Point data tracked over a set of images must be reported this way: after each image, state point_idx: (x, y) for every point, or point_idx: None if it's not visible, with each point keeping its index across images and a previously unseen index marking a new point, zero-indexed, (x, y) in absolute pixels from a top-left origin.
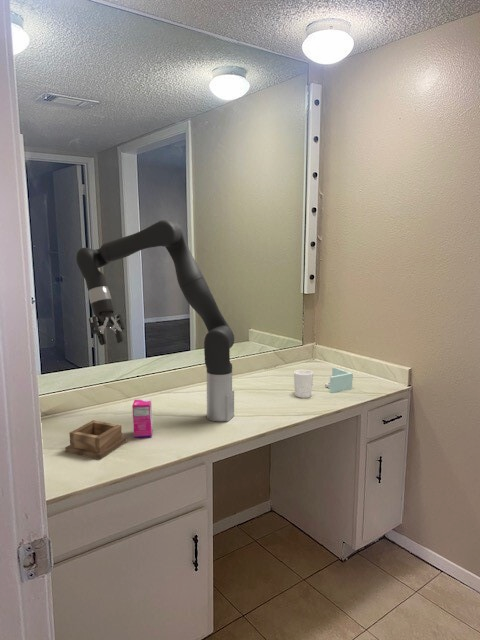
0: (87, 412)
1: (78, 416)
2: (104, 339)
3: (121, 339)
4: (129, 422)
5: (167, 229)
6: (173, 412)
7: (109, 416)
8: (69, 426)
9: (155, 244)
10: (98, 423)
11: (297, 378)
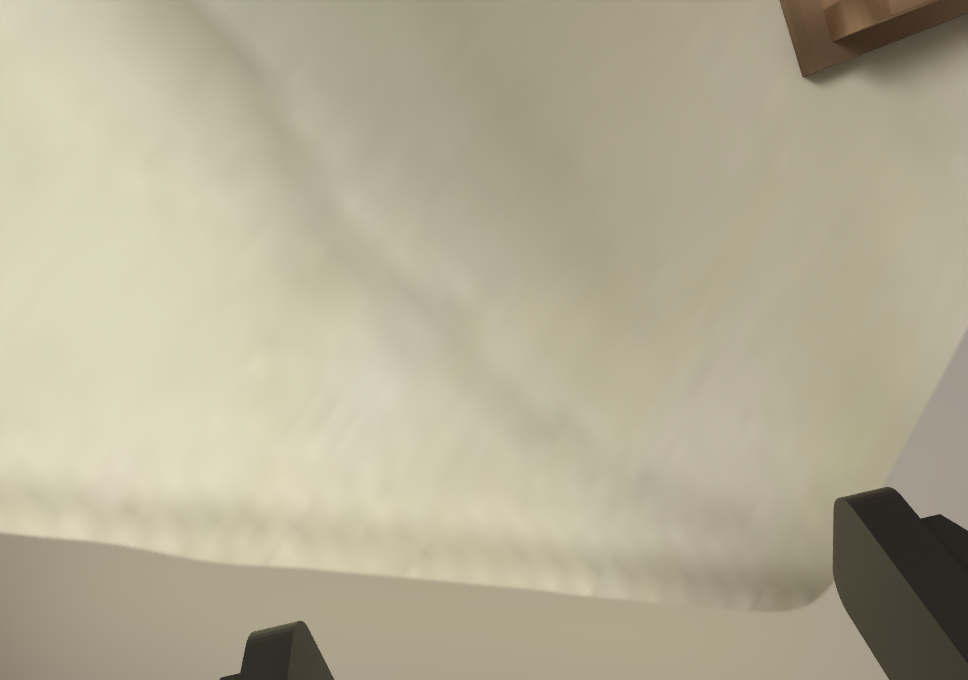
0: (590, 501)
1: (674, 474)
2: (931, 563)
3: (282, 657)
4: (490, 102)
5: None
6: (105, 13)
7: (524, 317)
8: (811, 348)
9: None
10: None
11: None
